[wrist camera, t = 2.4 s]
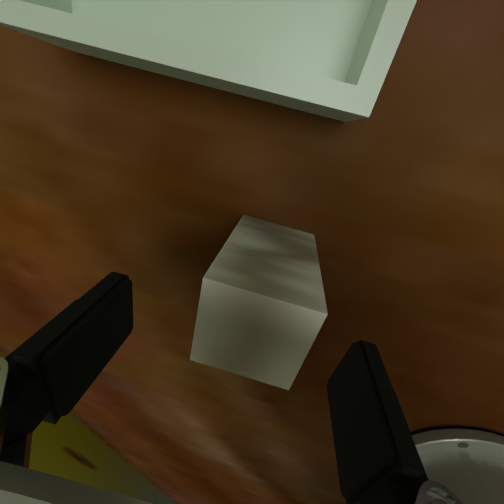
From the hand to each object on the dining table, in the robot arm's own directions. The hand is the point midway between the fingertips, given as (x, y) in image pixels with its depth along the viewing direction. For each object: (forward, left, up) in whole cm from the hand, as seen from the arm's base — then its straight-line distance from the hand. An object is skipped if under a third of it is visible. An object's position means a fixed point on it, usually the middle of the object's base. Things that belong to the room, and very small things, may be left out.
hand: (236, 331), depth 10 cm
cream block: (-1, 0, -8) cm, 8 cm away
